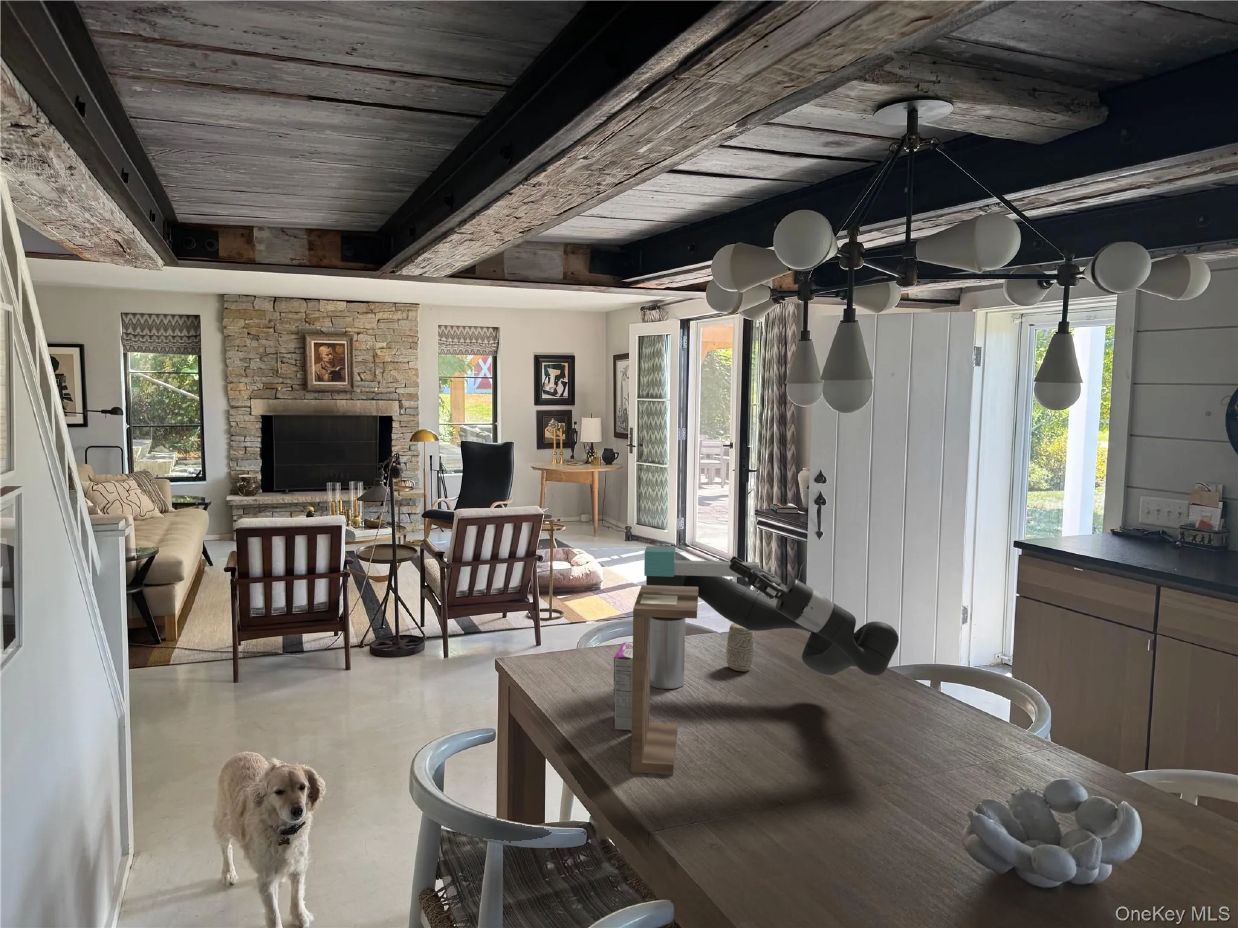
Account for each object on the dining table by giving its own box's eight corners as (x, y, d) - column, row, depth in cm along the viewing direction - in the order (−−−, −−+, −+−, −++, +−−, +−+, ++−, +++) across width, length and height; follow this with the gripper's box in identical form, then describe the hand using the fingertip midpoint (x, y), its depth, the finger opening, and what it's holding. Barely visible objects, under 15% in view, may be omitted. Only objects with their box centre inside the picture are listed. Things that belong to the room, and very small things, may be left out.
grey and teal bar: (646, 569, 174) (646, 546, 173) (757, 572, 171) (757, 548, 171) (644, 575, 168) (644, 551, 167) (759, 579, 165) (759, 554, 165)
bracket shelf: (640, 730, 179) (641, 583, 176) (695, 733, 177) (698, 585, 175) (631, 772, 159) (633, 607, 156) (694, 775, 158) (697, 609, 155)
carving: (750, 674, 216) (751, 629, 216) (722, 670, 220) (723, 625, 219) (757, 667, 222) (758, 623, 221) (730, 663, 225) (730, 620, 224)
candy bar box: (622, 711, 190) (623, 641, 189) (643, 713, 189) (644, 642, 188) (612, 730, 179) (612, 655, 178) (634, 732, 178) (635, 657, 177)
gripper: (810, 582, 174) (739, 540, 175) (819, 598, 160) (742, 552, 161) (791, 612, 175) (720, 570, 176) (798, 630, 161) (722, 584, 162)
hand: (731, 561), depth 169 cm, fingers closed on grey and teal bar, 3 cm apart
